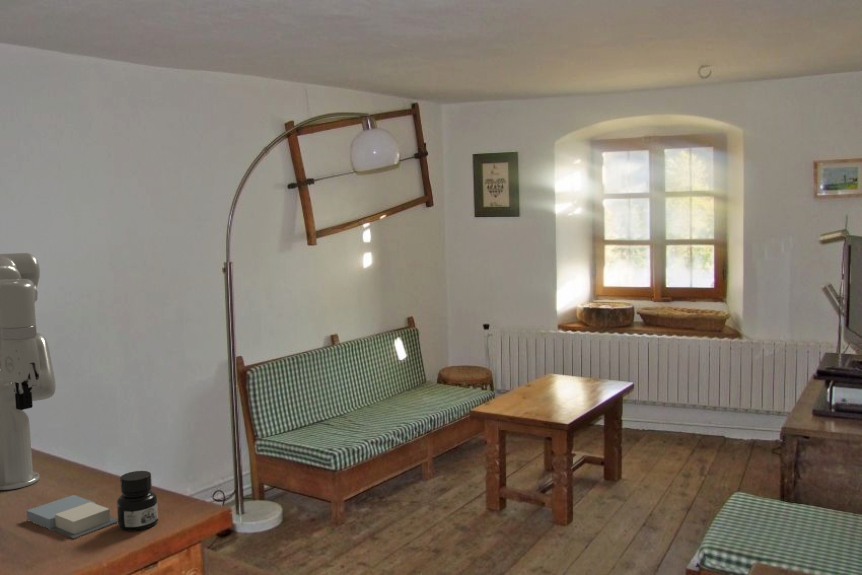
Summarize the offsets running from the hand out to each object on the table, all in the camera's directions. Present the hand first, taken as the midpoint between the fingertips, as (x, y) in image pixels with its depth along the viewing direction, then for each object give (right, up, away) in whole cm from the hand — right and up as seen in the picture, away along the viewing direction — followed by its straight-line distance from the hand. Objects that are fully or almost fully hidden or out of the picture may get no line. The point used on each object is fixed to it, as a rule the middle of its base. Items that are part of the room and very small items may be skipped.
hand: (24, 408), depth 186 cm
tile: (+16, -26, -3) cm, 30 cm away
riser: (+8, -27, +2) cm, 28 cm away
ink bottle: (+29, -27, -3) cm, 40 cm away
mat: (+16, -27, -3) cm, 32 cm away
